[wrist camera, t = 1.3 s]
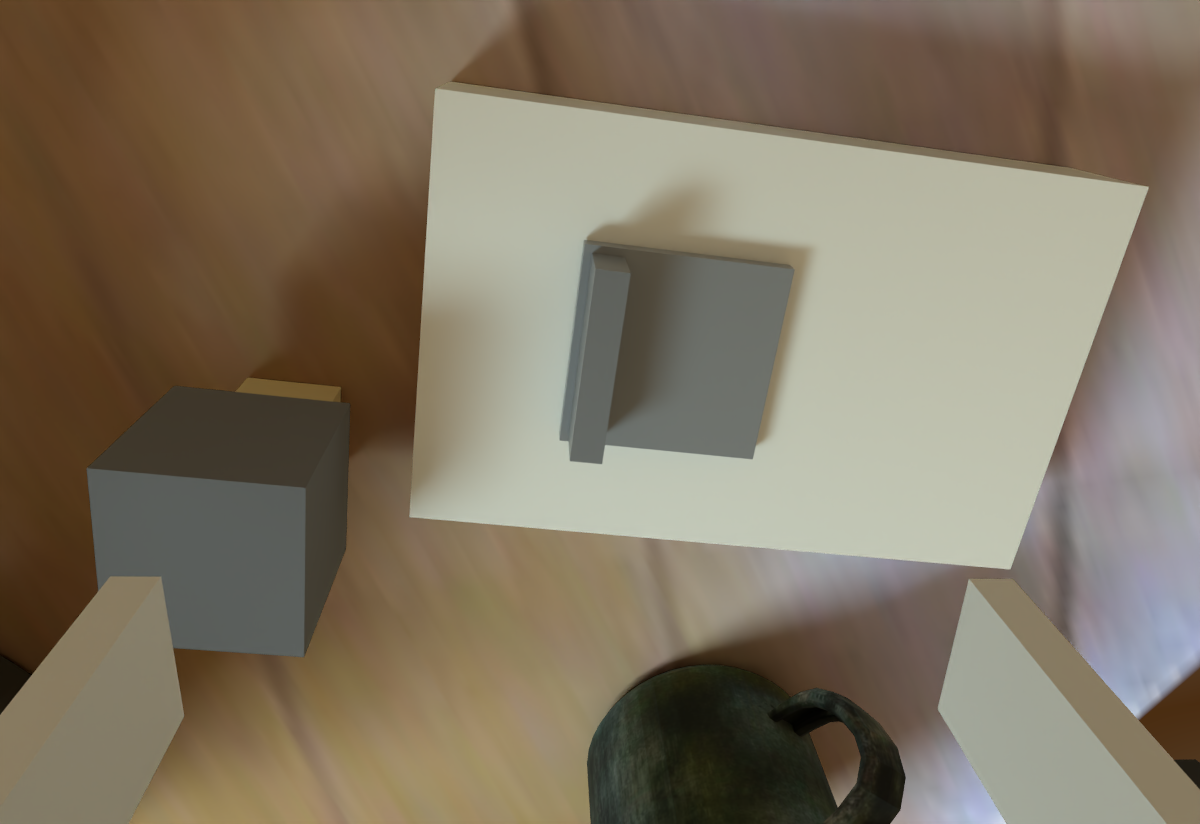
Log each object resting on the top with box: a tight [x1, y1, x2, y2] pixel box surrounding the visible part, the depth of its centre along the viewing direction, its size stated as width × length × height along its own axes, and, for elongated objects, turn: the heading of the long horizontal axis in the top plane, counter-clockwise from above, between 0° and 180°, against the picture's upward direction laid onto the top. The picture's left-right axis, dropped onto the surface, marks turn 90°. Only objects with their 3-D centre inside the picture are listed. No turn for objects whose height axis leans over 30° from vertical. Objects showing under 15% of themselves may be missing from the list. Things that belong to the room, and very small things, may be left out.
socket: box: [409, 82, 1149, 569], centre depth 31 cm, size 22×14×4 cm, turn 82°
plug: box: [87, 378, 350, 657], centre depth 29 cm, size 6×6×10 cm
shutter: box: [559, 240, 795, 464], centre depth 27 cm, size 6×6×3 cm
